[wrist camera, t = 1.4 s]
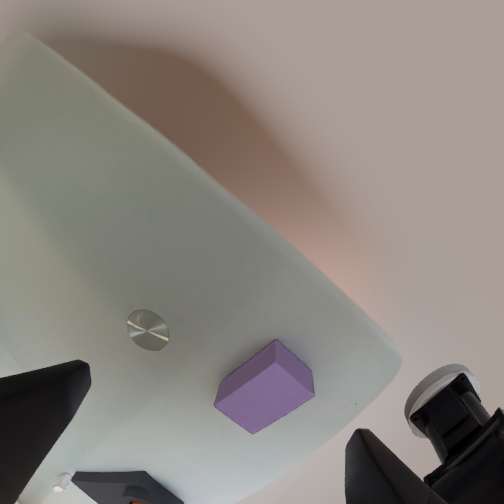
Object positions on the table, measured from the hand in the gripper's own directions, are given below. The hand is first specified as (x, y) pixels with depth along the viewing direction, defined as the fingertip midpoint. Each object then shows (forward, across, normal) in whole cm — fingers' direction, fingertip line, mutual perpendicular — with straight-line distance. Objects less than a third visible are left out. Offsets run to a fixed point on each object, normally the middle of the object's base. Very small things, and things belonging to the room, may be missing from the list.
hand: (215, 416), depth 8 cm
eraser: (+12, +24, +43) cm, 51 cm away
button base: (+12, +12, +35) cm, 39 cm away
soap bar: (+12, -2, +7) cm, 14 cm away
